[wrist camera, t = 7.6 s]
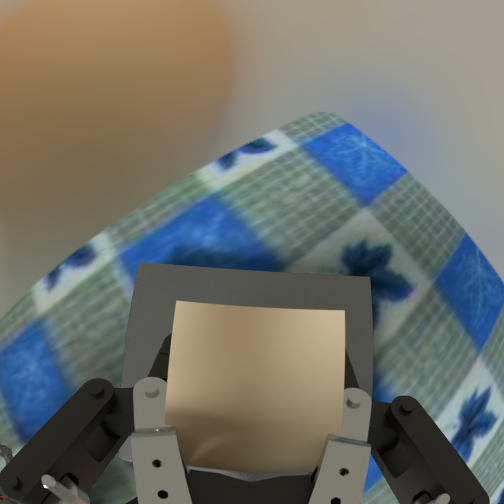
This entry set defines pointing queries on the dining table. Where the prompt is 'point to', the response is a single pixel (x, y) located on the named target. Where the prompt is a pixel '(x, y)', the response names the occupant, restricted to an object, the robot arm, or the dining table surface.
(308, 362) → the beech peg
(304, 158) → the dining table surface
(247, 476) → the socket block
